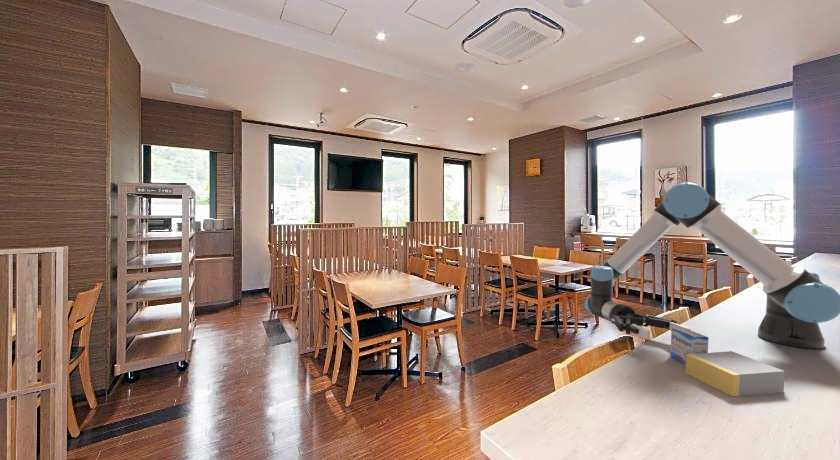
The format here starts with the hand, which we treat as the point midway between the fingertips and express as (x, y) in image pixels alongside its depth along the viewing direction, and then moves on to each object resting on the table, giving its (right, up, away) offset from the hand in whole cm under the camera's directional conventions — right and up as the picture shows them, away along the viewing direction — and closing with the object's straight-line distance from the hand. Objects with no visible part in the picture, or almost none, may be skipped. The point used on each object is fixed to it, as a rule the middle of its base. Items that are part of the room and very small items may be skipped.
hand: (669, 334), depth 104 cm
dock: (+3, -7, -17) cm, 19 cm away
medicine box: (+1, -6, -6) cm, 9 cm away
